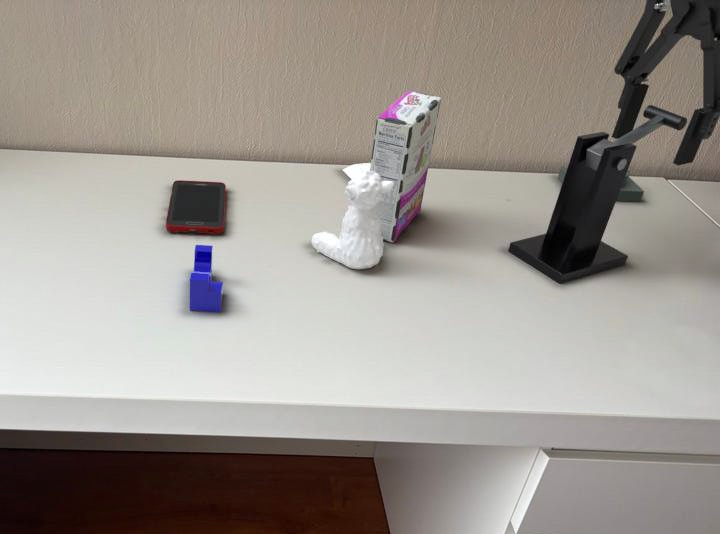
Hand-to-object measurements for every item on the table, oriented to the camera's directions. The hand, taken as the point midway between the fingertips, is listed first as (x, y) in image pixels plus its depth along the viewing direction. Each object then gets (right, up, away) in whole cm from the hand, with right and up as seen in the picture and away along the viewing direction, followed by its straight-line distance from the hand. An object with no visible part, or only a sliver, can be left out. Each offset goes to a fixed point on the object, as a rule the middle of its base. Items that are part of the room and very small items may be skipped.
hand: (650, 149), depth 94 cm
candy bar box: (-31, -8, +10) cm, 33 cm away
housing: (+4, 0, +23) cm, 23 cm away
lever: (-4, 0, -2) cm, 4 cm away
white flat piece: (-31, -1, +19) cm, 36 cm away
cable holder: (-55, -19, -6) cm, 59 cm away
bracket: (-9, -13, +5) cm, 16 cm away
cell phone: (-57, -6, +11) cm, 59 cm away
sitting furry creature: (-37, -13, +2) cm, 39 cm away
